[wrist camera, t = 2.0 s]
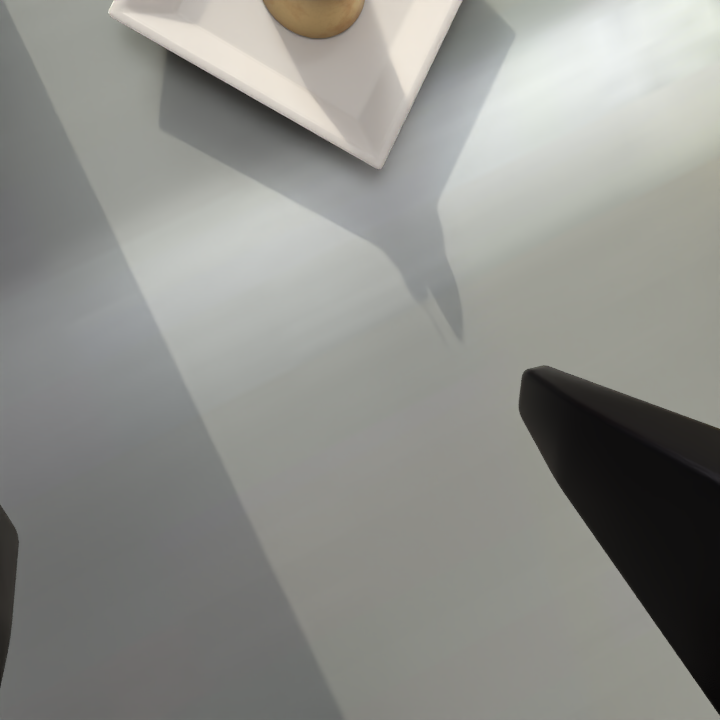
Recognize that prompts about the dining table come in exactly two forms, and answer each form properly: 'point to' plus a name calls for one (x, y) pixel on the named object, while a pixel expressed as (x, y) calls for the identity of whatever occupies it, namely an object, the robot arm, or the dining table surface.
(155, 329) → the dining table surface
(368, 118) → the dessert
